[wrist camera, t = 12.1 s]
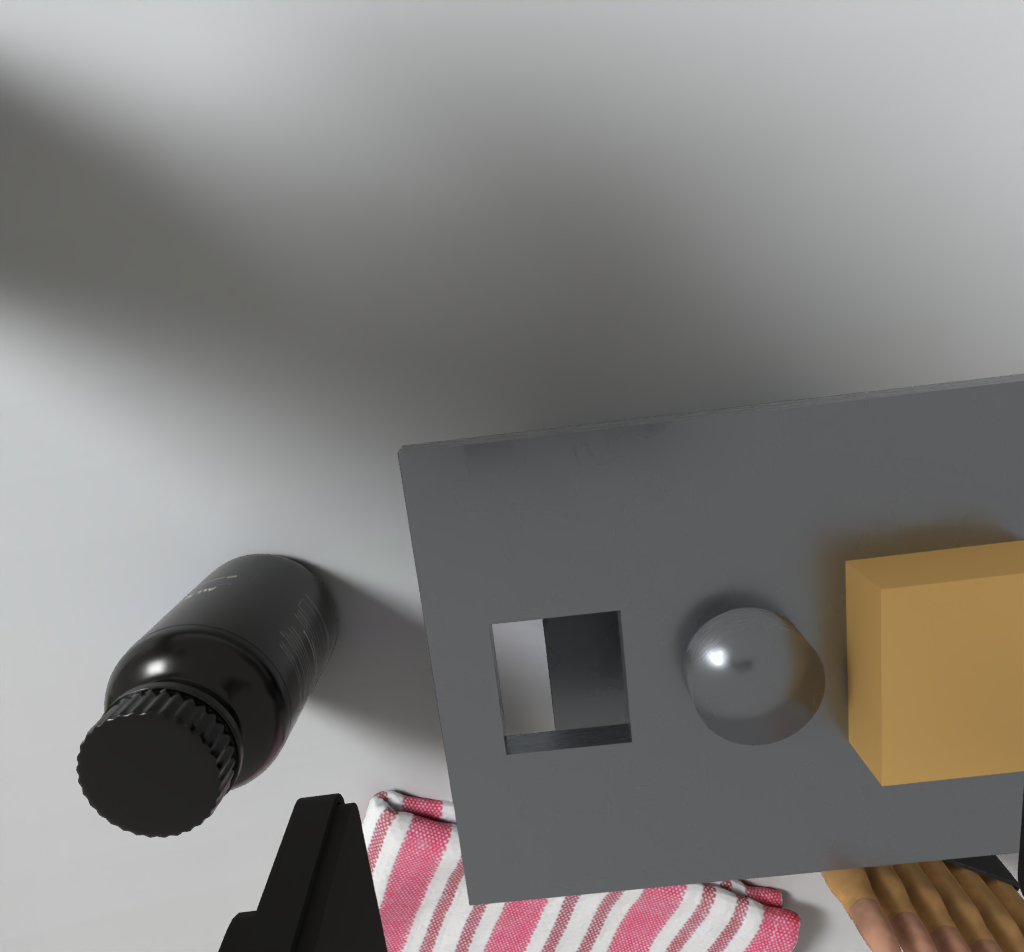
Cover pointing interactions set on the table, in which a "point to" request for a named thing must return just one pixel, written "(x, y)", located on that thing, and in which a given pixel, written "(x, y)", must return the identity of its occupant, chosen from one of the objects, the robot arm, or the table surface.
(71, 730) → the table surface
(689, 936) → the dish towel
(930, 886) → the ammunition clip
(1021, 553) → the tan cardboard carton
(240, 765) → the supplement bottle
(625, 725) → the gray tiered stand
